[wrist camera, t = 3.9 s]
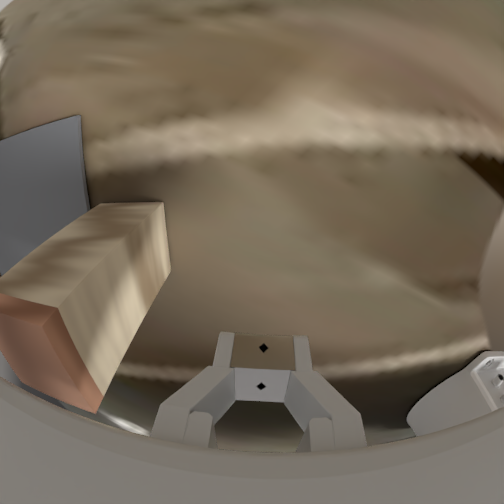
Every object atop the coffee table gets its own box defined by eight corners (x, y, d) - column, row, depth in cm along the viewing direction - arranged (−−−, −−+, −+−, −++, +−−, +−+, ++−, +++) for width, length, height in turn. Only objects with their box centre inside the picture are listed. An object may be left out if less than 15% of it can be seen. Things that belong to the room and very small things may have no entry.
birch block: (163, 202, 17) (41, 326, 7) (171, 269, 19) (95, 413, 9) (100, 203, 17) (-26, 302, 7) (112, 265, 20) (22, 382, 9)
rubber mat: (80, 115, 14) (77, 115, 14) (120, 327, 23) (118, 330, 22) (-25, 152, 15) (-27, 153, 15) (15, 303, 23) (14, 305, 23)
